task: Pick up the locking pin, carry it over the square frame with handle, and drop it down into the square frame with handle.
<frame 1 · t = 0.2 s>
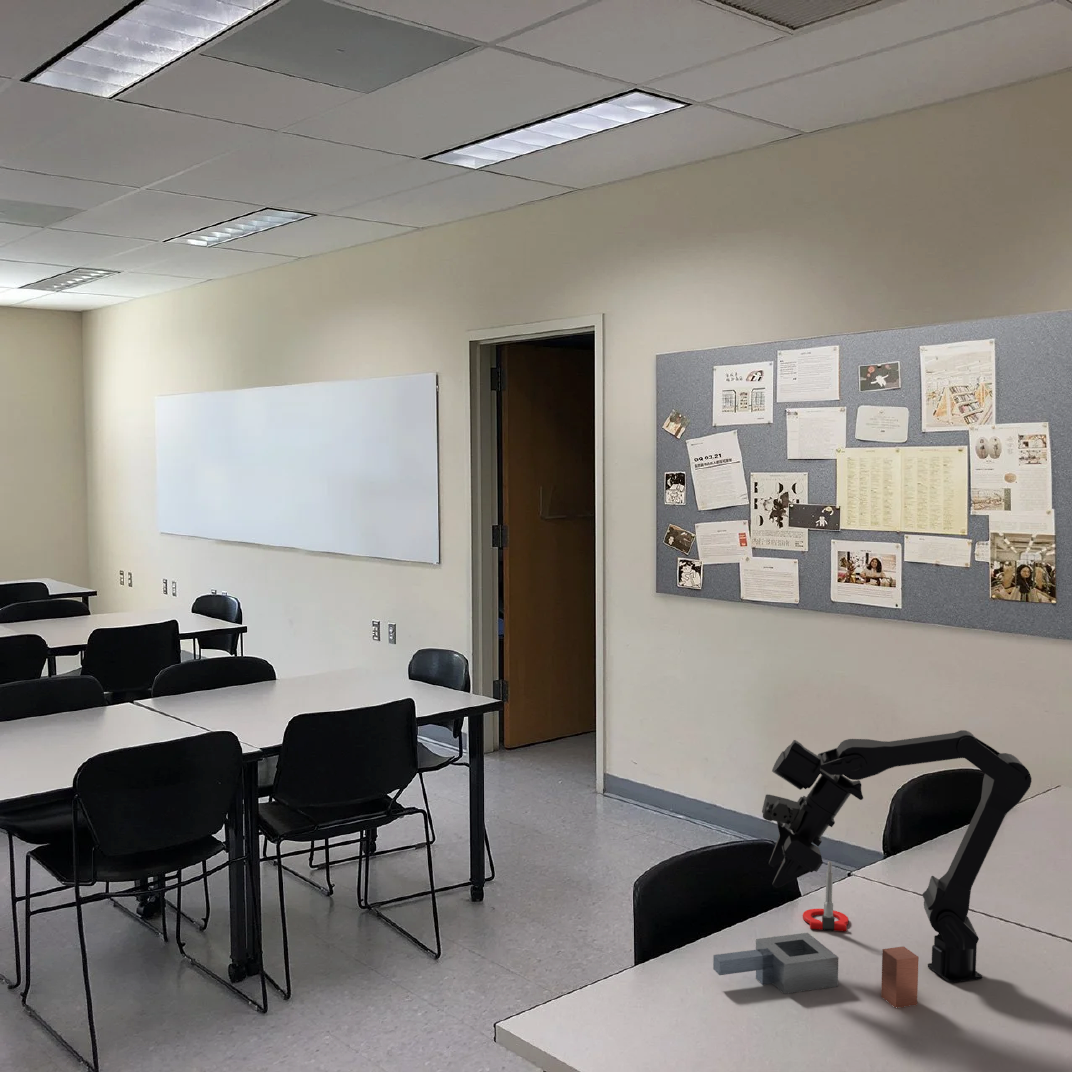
hand: (772, 875, 194), 15 cm above the table, tool tilted 30°, fingers open, 9 cm apart
locking pin: (899, 1000, 179), on the table
square frame with handle: (795, 976, 187), on the table
tow hook: (825, 923, 210), on the table
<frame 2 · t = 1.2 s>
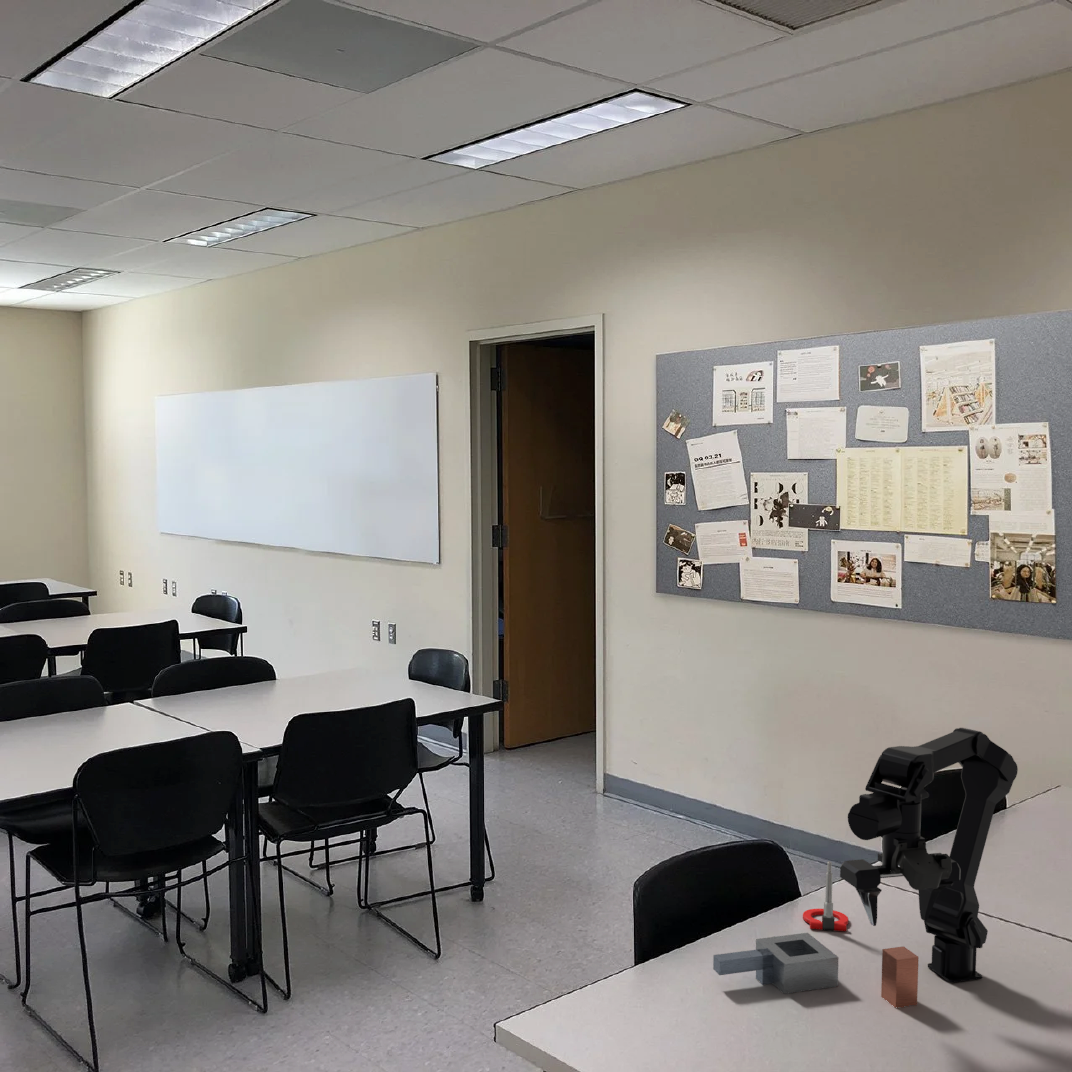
hand: (898, 922, 179), 13 cm above the table, tool pointing down, fingers open, 9 cm apart
nothing on the table moved.
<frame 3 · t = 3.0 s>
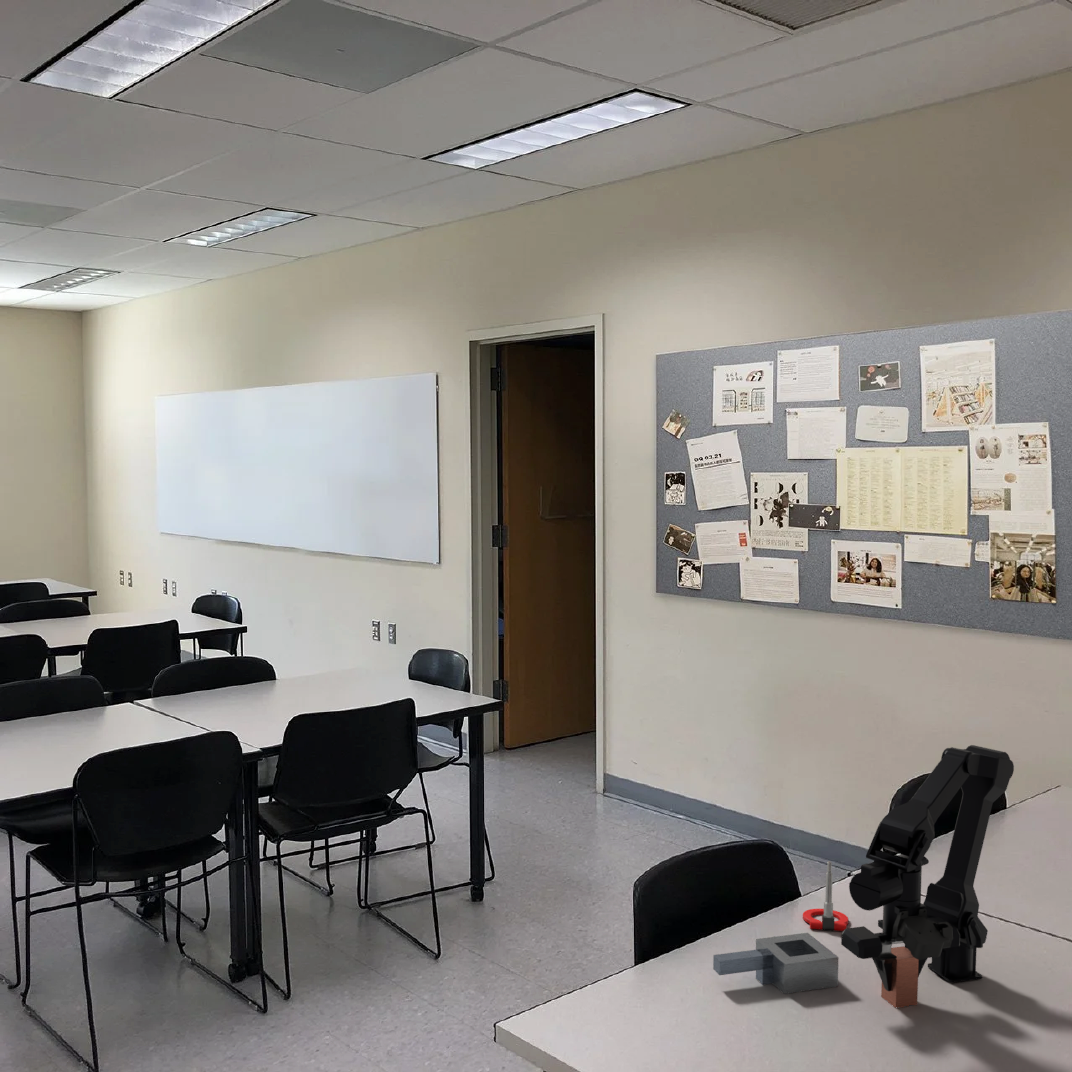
hand: (899, 988, 179), 2 cm above the table, tool pointing down, fingers closed on locking pin, 4 cm apart
locking pin: (899, 1000, 179), on the table, touching gripper
everything else where it was.
when the fingers open (6 cm above the table, at t = 6.8 s): locking pin drops 4 cm, resting in square frame with handle.
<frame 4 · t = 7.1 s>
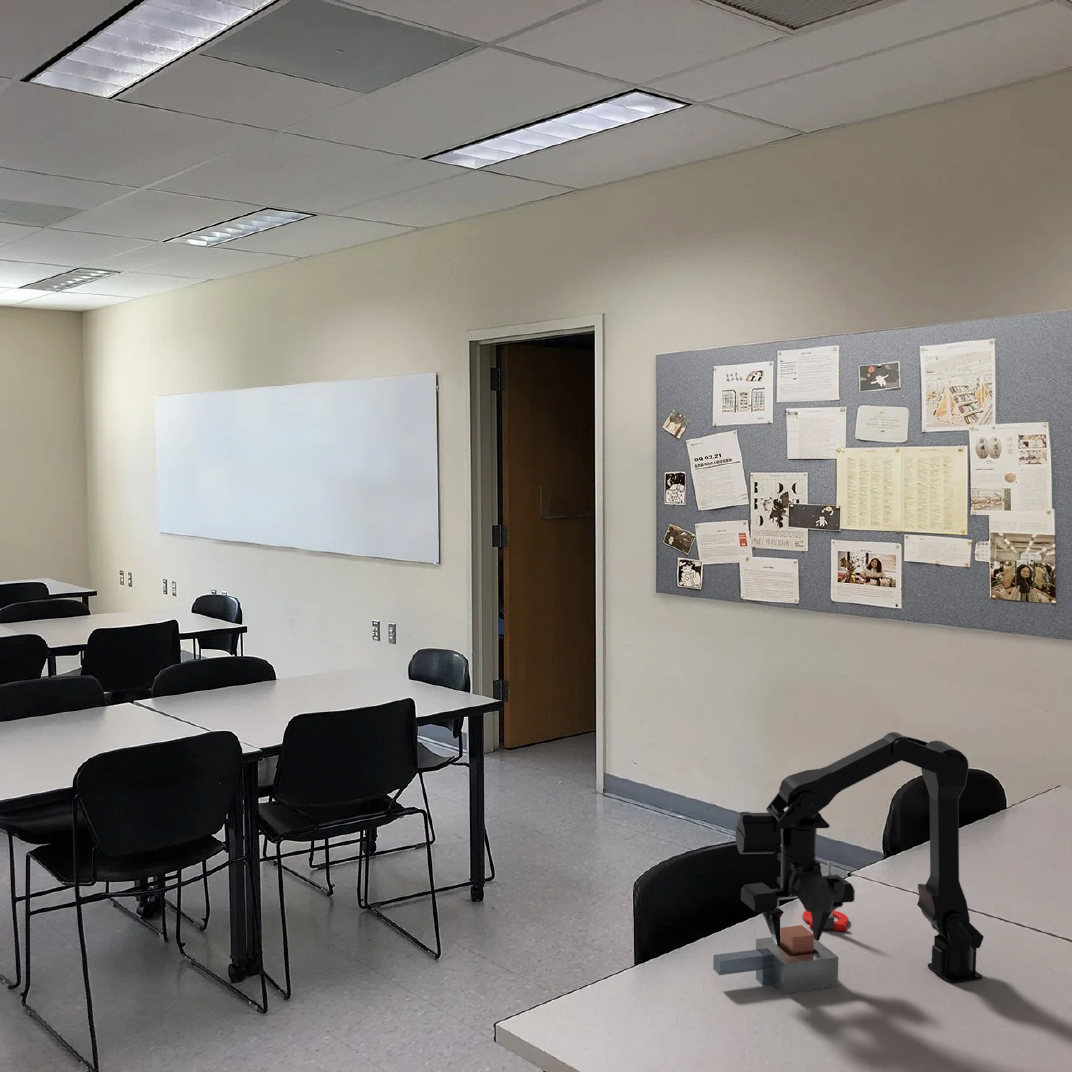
hand: (796, 942, 187), 6 cm above the table, tool pointing down, fingers open, 7 cm apart
locking pin: (796, 977, 187), resting in square frame with handle
everything else where it was.
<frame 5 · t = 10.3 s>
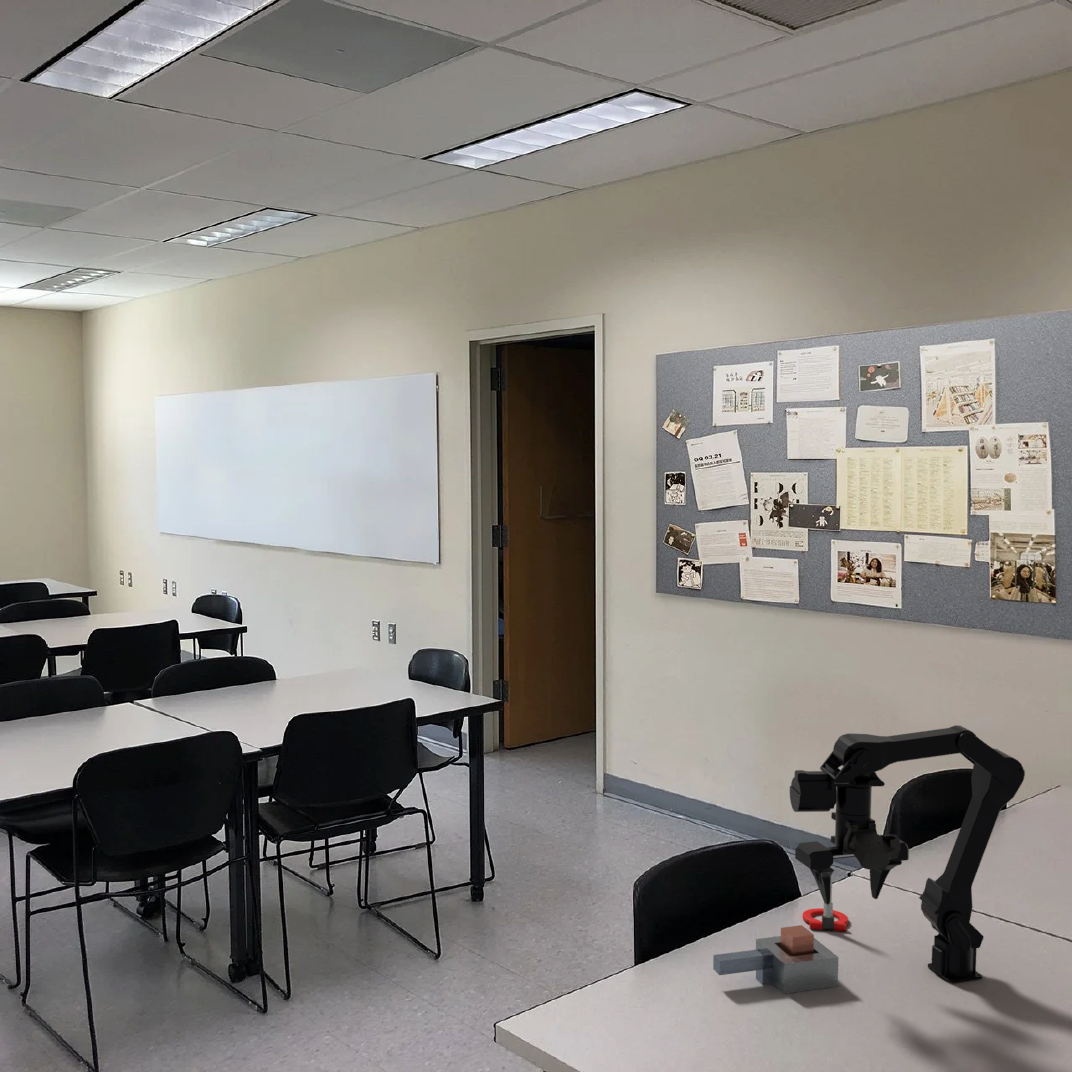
hand: (850, 900, 187), 13 cm above the table, tool pointing down, fingers open, 9 cm apart
nothing on the table moved.
at the end: locking pin 0.1 cm from the square frame with handle (horizontally); locking pin resting in square frame with handle; locking pin tilted 0° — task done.
